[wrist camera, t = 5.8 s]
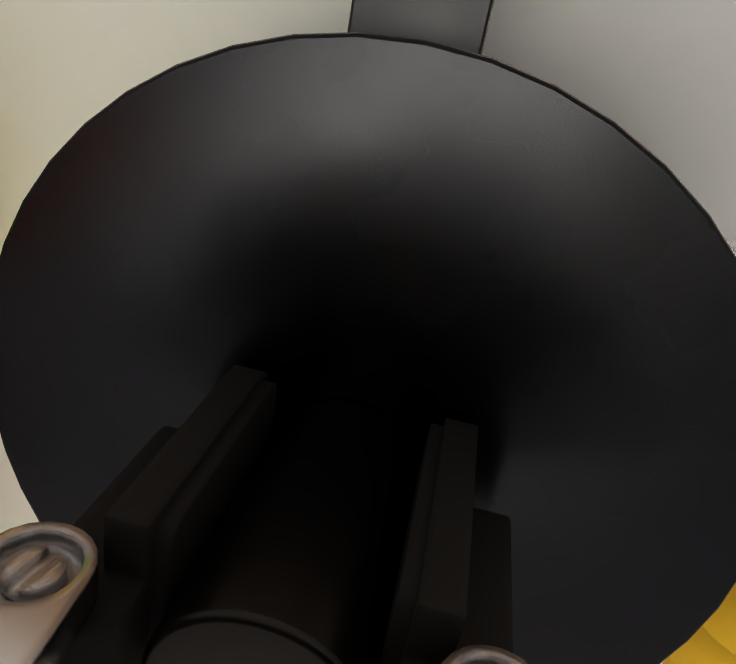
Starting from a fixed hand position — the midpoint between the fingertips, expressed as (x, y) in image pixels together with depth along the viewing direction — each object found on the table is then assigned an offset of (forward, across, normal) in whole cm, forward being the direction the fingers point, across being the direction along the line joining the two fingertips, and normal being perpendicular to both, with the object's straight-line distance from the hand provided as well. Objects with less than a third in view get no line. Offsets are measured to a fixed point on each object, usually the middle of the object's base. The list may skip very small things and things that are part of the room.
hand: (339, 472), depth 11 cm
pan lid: (+1, 0, 0) cm, 1 cm away
